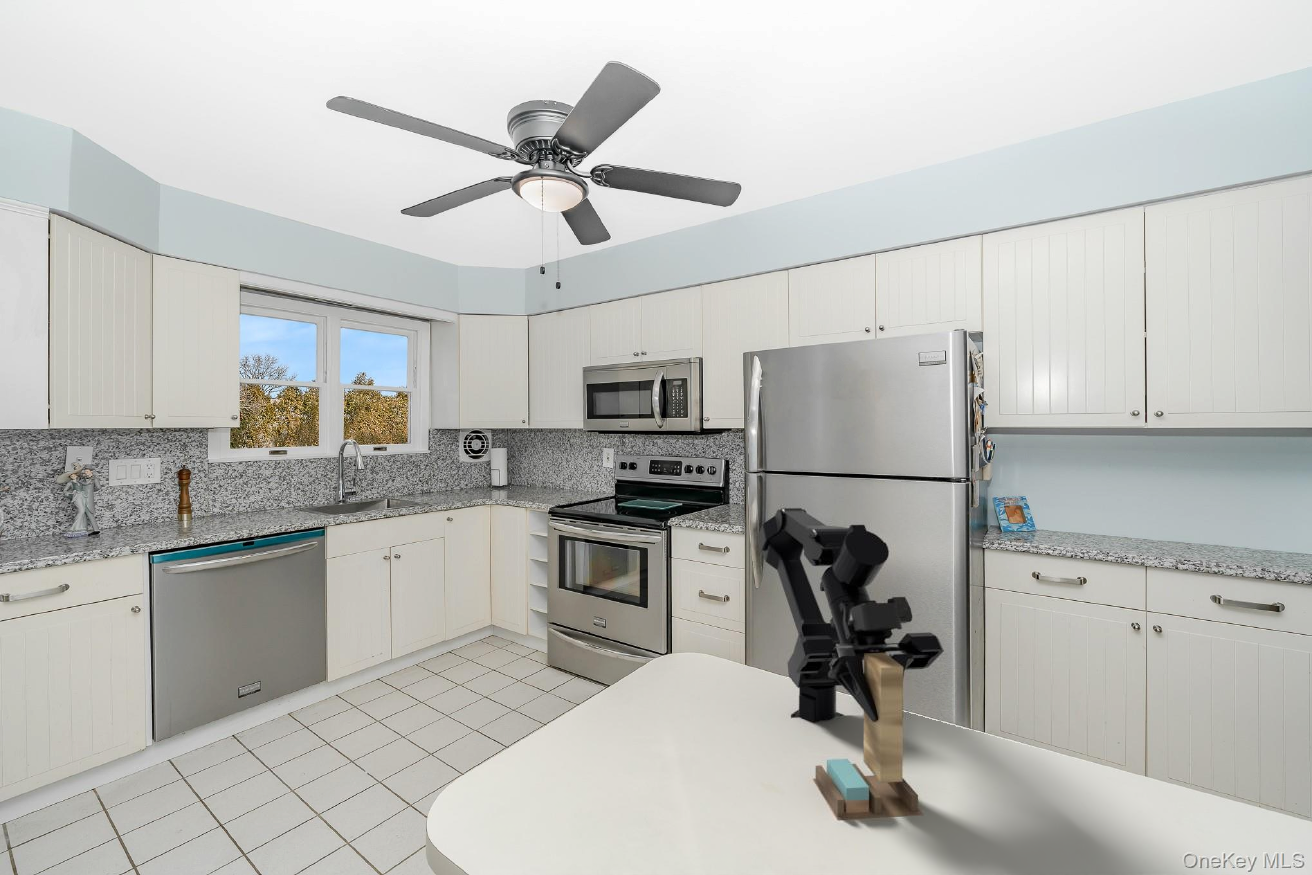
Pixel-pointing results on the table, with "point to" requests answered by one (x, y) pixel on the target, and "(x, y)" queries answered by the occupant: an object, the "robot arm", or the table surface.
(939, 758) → the table surface
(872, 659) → the oak board
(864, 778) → the rack
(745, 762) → the table surface
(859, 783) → the offcut upper
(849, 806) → the offcut lower
